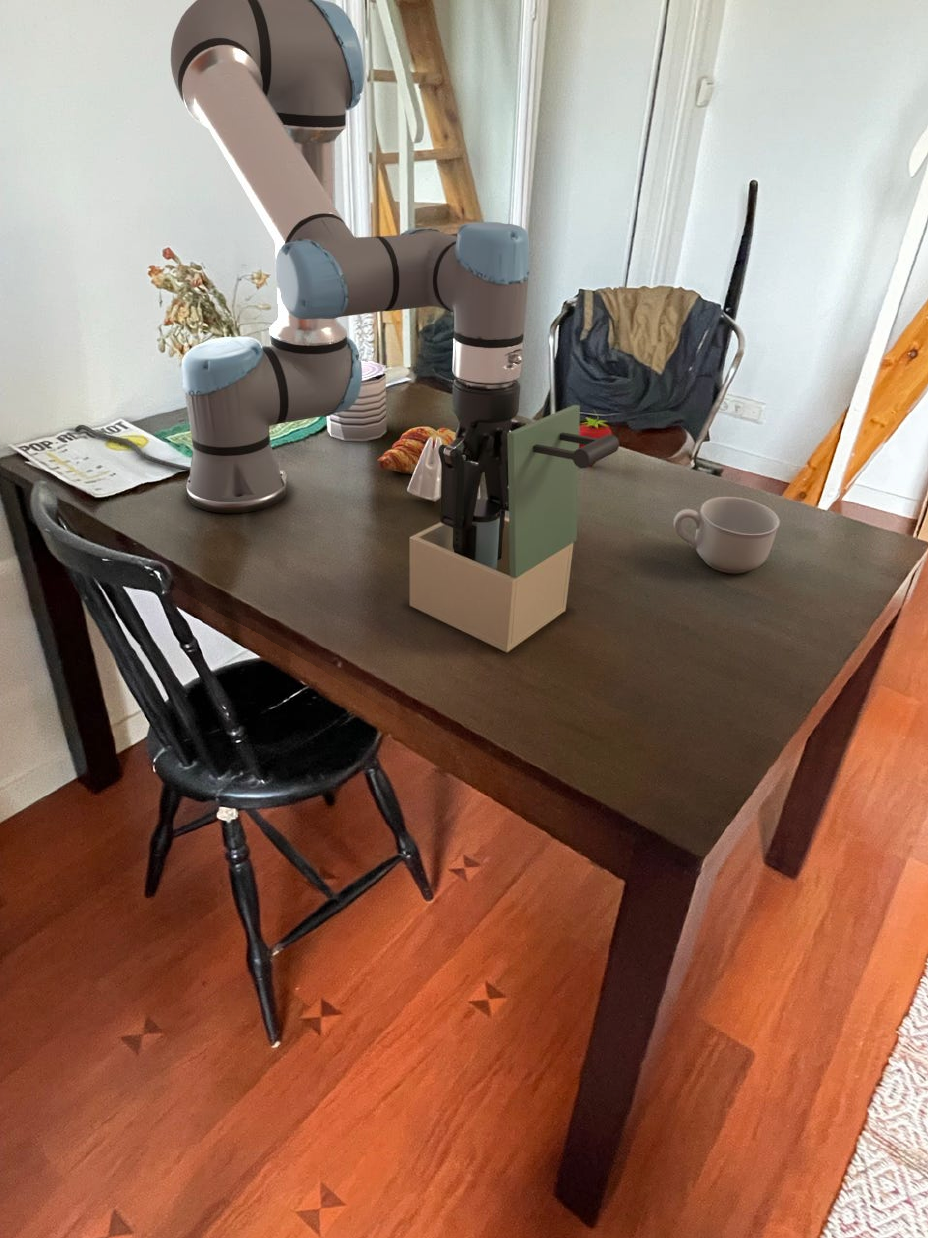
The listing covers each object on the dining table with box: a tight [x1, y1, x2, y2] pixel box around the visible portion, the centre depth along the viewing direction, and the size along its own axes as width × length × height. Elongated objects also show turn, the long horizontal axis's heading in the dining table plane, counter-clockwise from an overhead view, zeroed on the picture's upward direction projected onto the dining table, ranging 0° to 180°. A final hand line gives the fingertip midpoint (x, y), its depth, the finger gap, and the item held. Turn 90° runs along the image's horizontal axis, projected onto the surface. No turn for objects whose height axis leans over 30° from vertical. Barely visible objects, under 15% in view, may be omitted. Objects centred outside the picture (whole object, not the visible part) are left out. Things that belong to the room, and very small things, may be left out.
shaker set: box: [407, 437, 481, 503], centre depth 128 cm, size 12×4×11 cm, turn 57°
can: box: [326, 360, 387, 442], centre depth 155 cm, size 11×11×12 cm
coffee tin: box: [472, 498, 501, 570], centre depth 102 cm, size 5×5×8 cm
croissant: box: [377, 426, 456, 475], centre depth 144 cm, size 21×10×8 cm, turn 131°
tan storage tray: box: [409, 517, 575, 653], centre depth 103 cm, size 16×13×10 cm
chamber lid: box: [508, 404, 620, 578], centre depth 90 cm, size 16×13×8 cm
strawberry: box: [579, 410, 613, 467], centre depth 145 cm, size 6×8×10 cm
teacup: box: [672, 496, 781, 574], centre depth 117 cm, size 14×11×8 cm
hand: (477, 563), depth 104 cm, fingers closed on coffee tin, 5 cm apart
